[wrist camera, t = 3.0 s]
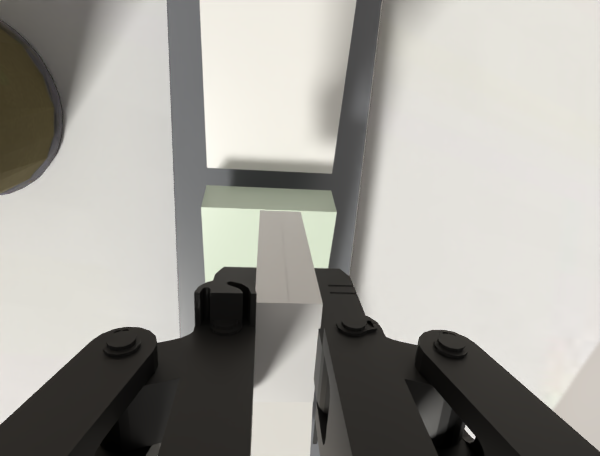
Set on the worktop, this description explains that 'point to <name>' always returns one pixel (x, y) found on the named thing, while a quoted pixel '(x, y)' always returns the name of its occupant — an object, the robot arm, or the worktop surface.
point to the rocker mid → (245, 223)
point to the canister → (25, 113)
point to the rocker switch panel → (196, 175)
